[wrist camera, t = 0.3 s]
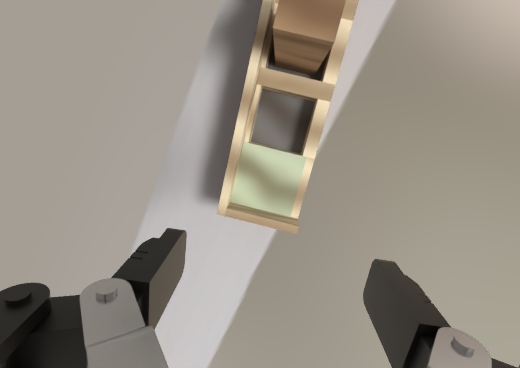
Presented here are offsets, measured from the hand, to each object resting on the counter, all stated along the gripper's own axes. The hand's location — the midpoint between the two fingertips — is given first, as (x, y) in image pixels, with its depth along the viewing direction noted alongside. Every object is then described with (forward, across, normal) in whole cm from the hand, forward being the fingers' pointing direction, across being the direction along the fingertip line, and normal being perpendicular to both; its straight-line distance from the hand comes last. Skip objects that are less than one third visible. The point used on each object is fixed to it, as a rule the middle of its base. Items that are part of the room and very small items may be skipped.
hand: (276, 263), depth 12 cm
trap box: (+28, -1, -5) cm, 29 cm away
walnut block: (+28, -1, -13) cm, 31 cm away
